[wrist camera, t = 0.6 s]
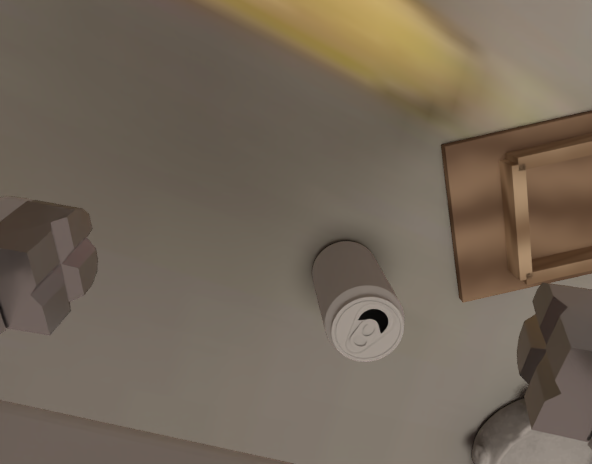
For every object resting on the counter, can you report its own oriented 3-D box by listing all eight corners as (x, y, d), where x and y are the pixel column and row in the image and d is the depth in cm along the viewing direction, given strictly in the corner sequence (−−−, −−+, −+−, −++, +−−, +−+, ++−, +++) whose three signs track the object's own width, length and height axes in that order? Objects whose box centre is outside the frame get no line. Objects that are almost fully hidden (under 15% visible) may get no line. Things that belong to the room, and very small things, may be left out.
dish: (606, 446, 61) (635, 479, 56) (504, 505, 63) (524, 542, 58) (553, 363, 57) (580, 391, 52) (445, 429, 59) (461, 462, 54)
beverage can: (388, 259, 51) (426, 318, 40) (350, 309, 52) (376, 379, 41) (335, 226, 49) (359, 277, 38) (298, 278, 51) (310, 343, 40)
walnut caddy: (441, 144, 48) (454, 151, 44) (675, 91, 48) (706, 94, 44) (459, 297, 53) (472, 314, 50) (670, 250, 53) (697, 263, 50)
